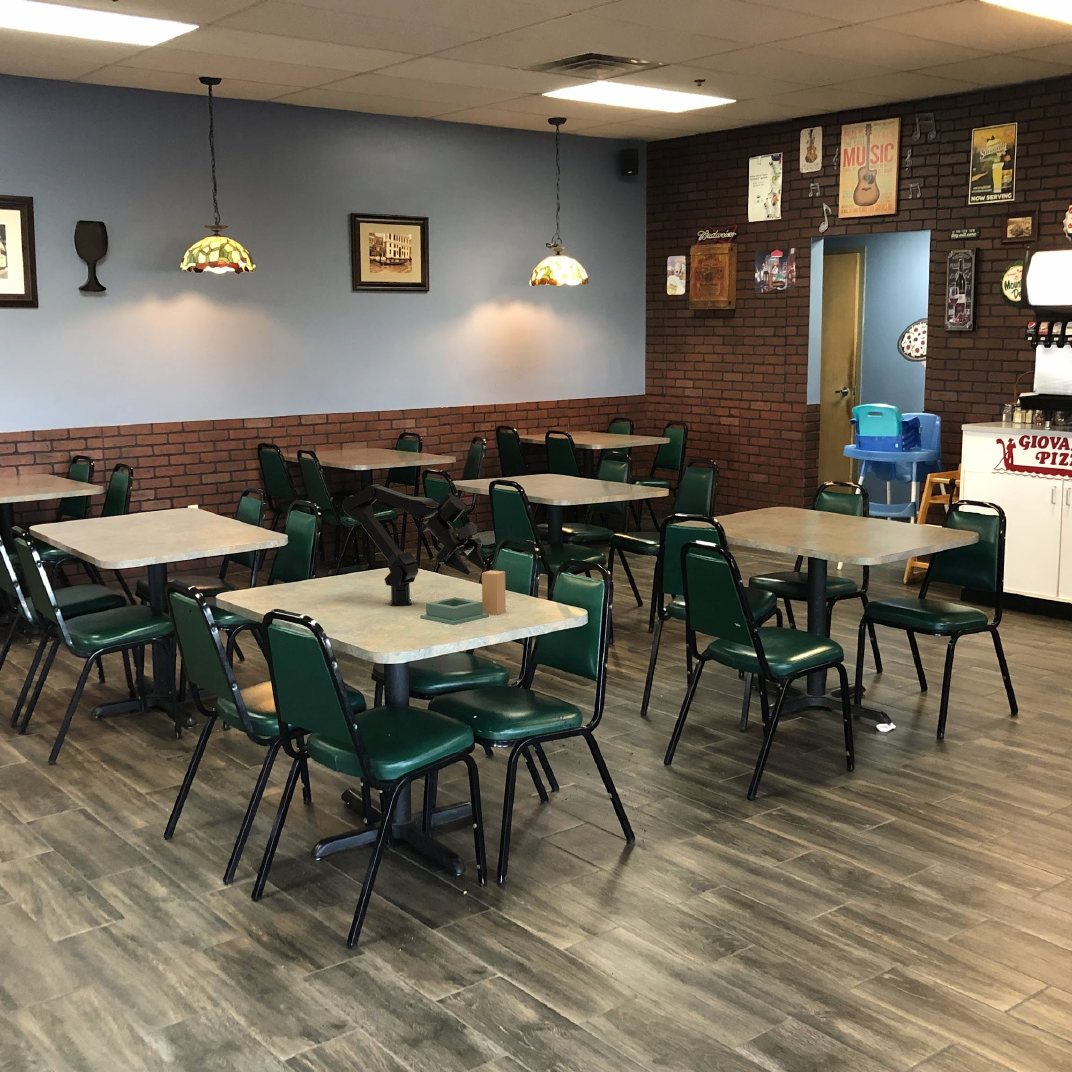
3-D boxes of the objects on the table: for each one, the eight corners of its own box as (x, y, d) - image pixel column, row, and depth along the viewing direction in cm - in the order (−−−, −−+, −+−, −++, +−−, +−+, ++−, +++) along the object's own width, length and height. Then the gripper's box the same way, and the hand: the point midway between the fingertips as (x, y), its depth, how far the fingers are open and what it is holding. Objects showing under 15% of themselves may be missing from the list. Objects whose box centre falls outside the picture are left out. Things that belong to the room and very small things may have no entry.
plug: (482, 613, 356) (481, 573, 354) (490, 610, 360) (490, 570, 359) (497, 614, 354) (496, 574, 352) (505, 611, 358) (505, 571, 356)
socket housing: (420, 618, 350) (419, 603, 350) (455, 610, 360) (455, 596, 360) (453, 624, 341) (453, 609, 340) (488, 616, 351) (488, 602, 350)
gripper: (443, 518, 350) (477, 558, 346) (475, 510, 366) (508, 548, 363) (421, 543, 354) (454, 583, 351) (454, 535, 371) (486, 573, 367)
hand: (477, 571), depth 358 cm, fingers open, 9 cm apart
